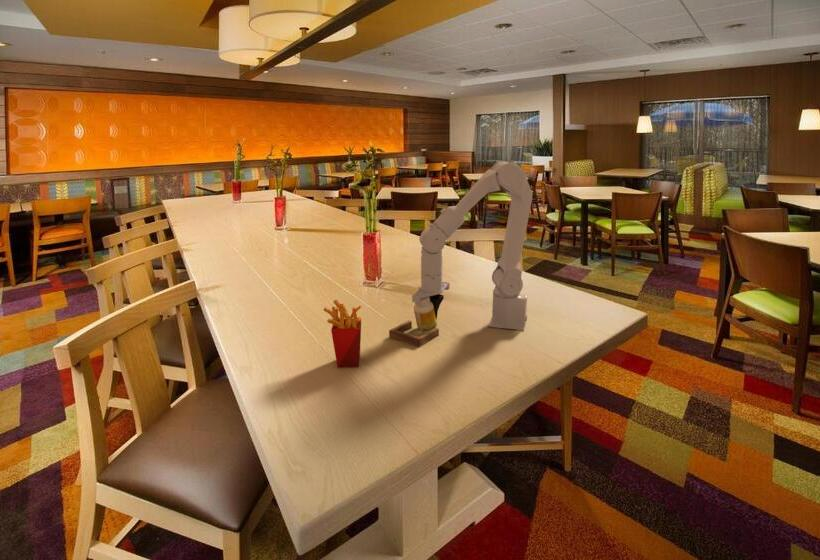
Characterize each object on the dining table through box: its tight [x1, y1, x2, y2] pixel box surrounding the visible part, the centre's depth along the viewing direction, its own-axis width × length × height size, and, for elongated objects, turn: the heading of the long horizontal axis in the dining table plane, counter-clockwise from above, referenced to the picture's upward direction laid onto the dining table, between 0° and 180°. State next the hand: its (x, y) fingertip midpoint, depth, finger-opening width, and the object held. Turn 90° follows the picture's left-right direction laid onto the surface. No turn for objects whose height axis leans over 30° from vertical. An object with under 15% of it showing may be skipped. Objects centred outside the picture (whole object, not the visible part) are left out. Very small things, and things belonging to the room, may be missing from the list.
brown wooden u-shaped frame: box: [388, 320, 440, 347], centre depth 126 cm, size 8×10×2 cm
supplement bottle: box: [413, 296, 438, 333], centre depth 130 cm, size 5×5×10 cm
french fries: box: [323, 299, 362, 369], centre depth 110 cm, size 9×8×15 cm
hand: (431, 320), depth 133 cm, fingers closed, pressing on supplement bottle
